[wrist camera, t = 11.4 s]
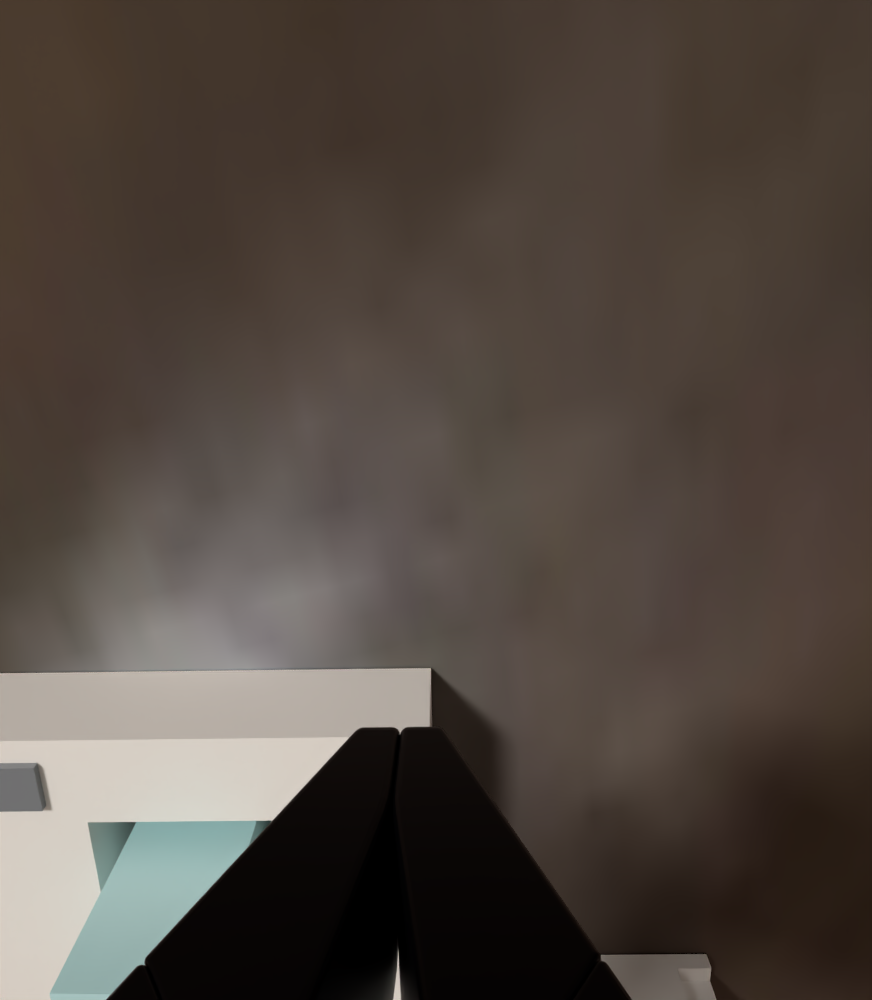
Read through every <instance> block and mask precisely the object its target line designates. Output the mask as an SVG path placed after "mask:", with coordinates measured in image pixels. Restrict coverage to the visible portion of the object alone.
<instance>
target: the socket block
mask: <svg viewBox="0 0 872 1000" xmlns="http://www.w3.org/2000/svg"><path fill="white" fill-rule="evenodd" d="M362 727H394V728H396V729H398V731H399V732H400V733H401V731H402V730H403V729H404V728H406V727H432V694H431V668H402V669H320V670H238V671H156V672H74V673H0V1000H51V999H50V992H51V990H52V988H53V986H54V984H55V982H56V980H57V978H58V976H59V974H60V972H61V970H62V968H63V966H64V964H65V962H66V960H67V958H68V956H69V954H70V952H71V950H72V948H73V946H74V944H75V942H76V940H77V938H78V936H79V934H80V932H81V930H82V928H83V926H84V925H85V923H86V921H87V919H88V917H89V915H90V913H91V911H92V909H93V907H94V905H95V903H96V901H97V899H98V897H99V895H100V893H101V891H102V889H103V887H104V885H105V883H106V881H107V879H108V877H109V875H110V873H111V871H112V869H113V867H114V865H115V863H116V861H117V859H118V857H119V855H120V853H121V851H122V849H123V848H124V846H125V844H126V842H127V840H128V838H129V836H130V834H131V832H132V830H133V828H134V826H135V824H136V822H179V821H272V820H273V819H274V818H275V817H276V816H277V815H278V814H279V813H280V812H281V811H282V810H283V809H284V807H285V806H286V805H287V804H288V803H289V802H290V801H291V800H292V799H293V798H294V797H295V796H296V795H297V793H298V792H299V791H300V790H301V789H302V788H303V787H304V786H305V785H306V784H307V783H308V782H309V780H310V779H311V778H312V777H313V776H314V775H315V774H316V773H317V772H318V771H319V770H320V769H321V768H322V766H323V765H324V764H325V763H326V762H327V761H328V760H329V759H330V758H331V757H332V756H333V755H334V754H335V752H336V751H337V750H338V749H339V748H340V747H341V746H342V745H343V744H344V743H345V742H346V741H347V739H348V738H349V737H350V736H351V735H352V734H353V733H354V732H355V731H356V730H357V729H359V728H362ZM393 1000H401V992H400V975H399V952H398V962H397V974H396V982H395V990H394V998H393Z"/></svg>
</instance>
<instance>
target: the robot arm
mask: <svg viewBox="0 0 872 1000" xmlns="http://www.w3.org/2000/svg"><path fill="white" fill-rule="evenodd" d="M398 952H399V975H400V992H401V1000H632V999H631V997H630V996H629V994H628V993H627V992H626V990H625V989H624V987H623V986H622V984H621V983H620V981H619V980H618V979H617V977H616V976H615V974H614V973H613V971H612V970H611V968H610V967H609V966H608V964H607V963H606V962H604V961H601V955H600V953H599V952H598V950H597V949H596V948H595V946H594V945H593V943H592V942H591V940H590V939H589V938H588V936H587V935H586V933H585V932H584V930H583V929H582V927H581V926H580V925H579V923H578V922H577V920H576V919H575V917H574V916H573V915H572V913H571V912H570V910H569V909H568V907H567V906H566V904H565V903H564V902H563V900H562V899H561V897H560V896H559V894H558V893H557V892H556V890H555V889H554V887H553V886H552V884H551V883H550V881H549V880H548V879H547V877H546V876H545V874H544V873H543V871H542V870H541V869H540V867H539V866H538V864H537V863H536V861H535V860H534V858H533V857H532V856H531V854H530V853H529V851H528V850H527V848H526V847H525V845H524V844H523V843H522V841H521V840H520V838H519V837H518V835H517V834H516V833H515V831H514V830H513V828H512V827H511V825H510V824H509V822H508V821H507V820H506V818H505V817H504V815H503V814H502V812H501V811H500V810H499V808H498V807H497V805H496V804H495V802H494V801H493V799H492V798H491V797H490V795H489V794H488V792H487V791H486V789H485V788H484V787H483V785H482V784H481V782H480V781H479V779H478V778H477V776H476V775H475V774H474V772H473V771H472V769H471V768H470V766H469V765H468V764H467V762H466V761H465V759H464V758H463V756H462V755H461V753H460V752H459V751H458V749H457V748H456V746H455V745H454V743H453V742H452V741H451V739H450V738H449V736H448V735H447V733H446V732H445V731H444V730H443V729H442V728H441V727H437V726H435V727H406V728H404V729H403V730H402V731H401V733H400V732H399V731H398V729H396V728H394V727H362V728H359V729H357V730H356V731H355V732H354V733H353V734H352V735H351V736H350V737H349V738H348V739H347V741H346V742H345V743H344V744H343V745H342V746H341V747H340V748H339V749H338V750H337V751H336V752H335V754H334V755H333V756H332V757H331V758H330V759H329V760H328V761H327V762H326V763H325V764H324V765H323V766H322V768H321V769H320V770H319V771H318V772H317V773H316V774H315V775H314V776H313V777H312V778H311V779H310V780H309V782H308V783H307V784H306V785H305V786H304V787H303V788H302V789H301V790H300V791H299V792H298V793H297V795H296V796H295V797H294V798H293V799H292V800H291V801H290V802H289V803H288V804H287V805H286V806H285V807H284V809H283V810H282V811H281V812H280V813H279V814H278V815H277V816H276V817H275V818H274V819H273V820H272V821H271V823H270V824H269V825H268V826H267V827H266V828H265V829H264V830H263V831H262V832H261V833H260V834H259V836H258V837H257V838H256V839H255V840H254V841H253V842H252V843H251V844H250V845H249V846H248V847H247V848H246V850H245V851H244V852H243V853H242V854H241V855H240V856H239V857H238V858H237V859H236V860H235V861H234V863H233V864H232V865H231V866H230V867H229V868H228V869H227V870H226V871H225V872H224V873H223V874H222V875H221V877H220V878H219V879H218V880H217V881H216V882H215V883H214V884H213V885H212V886H211V887H210V888H209V889H208V891H207V892H206V893H205V894H204V895H203V896H202V897H201V898H200V899H199V900H198V901H197V902H196V904H195V905H194V906H193V907H192V908H191V909H190V910H189V911H188V912H187V913H186V914H185V915H184V916H183V918H182V919H181V920H180V921H179V922H178V923H177V924H176V925H175V926H174V927H173V928H172V929H171V931H170V932H169V933H168V934H167V935H166V936H165V937H164V938H163V939H162V940H161V941H160V942H159V943H158V945H157V946H156V947H155V948H154V949H153V950H152V951H151V952H150V953H149V954H148V955H147V956H146V958H145V962H144V963H145V965H138V966H137V967H136V968H135V969H134V970H133V971H132V972H131V973H130V974H129V975H128V976H127V977H126V979H125V980H124V981H123V982H122V983H121V984H120V985H119V986H118V987H117V988H116V989H115V990H114V991H113V993H112V994H111V995H110V996H109V997H108V998H107V999H106V1000H393V998H394V990H395V982H396V974H397V962H398Z"/></svg>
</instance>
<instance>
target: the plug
mask: <svg viewBox="0 0 872 1000" xmlns="http://www.w3.org/2000/svg"><path fill="white" fill-rule="evenodd" d="M270 823H271V821H179V822H136V824H135V826H134V828H133V830H132V832H131V834H130V836H129V838H128V840H127V842H126V844H125V846H124V848H123V849H122V851H121V853H120V855H119V857H118V859H117V861H116V863H115V865H114V867H113V869H112V871H111V873H110V875H109V877H108V879H107V881H106V883H105V885H104V887H103V889H102V891H101V893H100V895H99V897H98V899H97V901H96V903H95V905H94V907H93V909H92V911H91V913H90V915H89V917H88V919H87V921H86V923H85V925H84V926H83V928H82V930H81V932H80V934H79V936H78V938H77V940H76V942H75V944H74V946H73V948H72V950H71V952H70V954H69V956H68V958H67V960H66V962H65V964H64V966H63V968H62V970H61V972H60V974H59V976H58V978H57V980H56V982H55V984H54V986H53V988H52V990H51V992H50V999H51V1000H106V999H107V998H108V997H109V996H110V995H111V994H112V993H113V991H114V990H115V989H116V988H117V987H118V986H119V985H120V984H121V983H122V982H123V981H124V980H125V979H126V977H127V976H128V975H129V974H130V973H131V972H132V971H133V970H134V969H135V968H136V967H137V966H138V965H145V963H144V962H145V958H146V956H147V955H148V954H149V953H150V952H151V951H152V950H153V949H154V948H155V947H156V946H157V945H158V943H159V942H160V941H161V940H162V939H163V938H164V937H165V936H166V935H167V934H168V933H169V932H170V931H171V929H172V928H173V927H174V926H175V925H176V924H177V923H178V922H179V921H180V920H181V919H182V918H183V916H184V915H185V914H186V913H187V912H188V911H189V910H190V909H191V908H192V907H193V906H194V905H195V904H196V902H197V901H198V900H199V899H200V898H201V897H202V896H203V895H204V894H205V893H206V892H207V891H208V889H209V888H210V887H211V886H212V885H213V884H214V883H215V882H216V881H217V880H218V879H219V878H220V877H221V875H222V874H223V873H224V872H225V871H226V870H227V869H228V868H229V867H230V866H231V865H232V864H233V863H234V861H235V860H236V859H237V858H238V857H239V856H240V855H241V854H242V853H243V852H244V851H245V850H246V848H247V847H248V846H249V845H250V844H251V843H252V842H253V841H254V840H255V839H256V838H257V837H258V836H259V834H260V833H261V832H262V831H263V830H264V829H265V828H266V827H267V826H268V825H269V824H270Z"/></svg>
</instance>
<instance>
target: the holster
mask: <svg viewBox="0 0 872 1000" xmlns="http://www.w3.org/2000/svg"><path fill="white" fill-rule="evenodd" d="M601 961H604V962H606V963H607V964H608V966H609V967H610V968H611V970H612V971H613V973H614V974H615V976H616V977H617V979H618V980H619V981H620V983H621V984H622V986H623V987H624V989H625V990H626V992H627V993H628V994H629V996H630V997H631V999H632V1000H716V997H715V994H714V991H713V988H712V986H711V983H710V977H711V966H710V963H709V960H708V957H707V955H706V954H647V955H601Z"/></svg>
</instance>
